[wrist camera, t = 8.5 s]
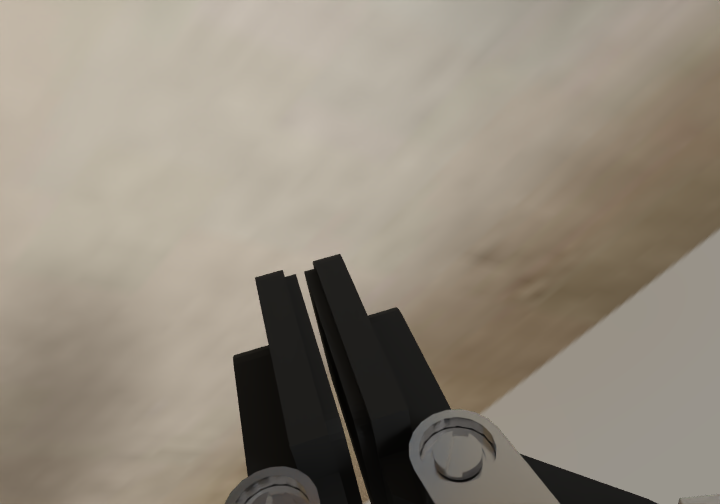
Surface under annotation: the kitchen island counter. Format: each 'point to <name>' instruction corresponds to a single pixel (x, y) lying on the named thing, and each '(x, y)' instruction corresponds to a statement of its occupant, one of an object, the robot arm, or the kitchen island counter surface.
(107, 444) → the kitchen island counter surface
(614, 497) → the robot arm
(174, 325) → the kitchen island counter surface
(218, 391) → the kitchen island counter surface
